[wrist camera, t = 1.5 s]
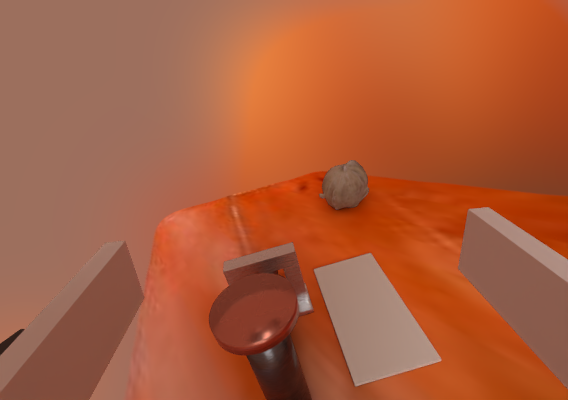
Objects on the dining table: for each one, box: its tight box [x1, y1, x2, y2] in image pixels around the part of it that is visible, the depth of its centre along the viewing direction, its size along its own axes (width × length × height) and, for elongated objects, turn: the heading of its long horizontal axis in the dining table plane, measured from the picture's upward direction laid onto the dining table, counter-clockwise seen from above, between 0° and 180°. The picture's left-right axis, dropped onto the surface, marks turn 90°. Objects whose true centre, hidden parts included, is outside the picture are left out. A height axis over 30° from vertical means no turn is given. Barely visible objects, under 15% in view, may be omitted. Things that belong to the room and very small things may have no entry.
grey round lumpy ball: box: [319, 160, 369, 210], centre depth 59 cm, size 9×8×10 cm
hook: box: [209, 270, 312, 400], centre depth 35 cm, size 7×24×14 cm, turn 10°
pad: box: [314, 253, 441, 387], centre depth 39 cm, size 9×18×1 cm, turn 10°
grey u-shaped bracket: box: [223, 242, 314, 317], centre depth 40 cm, size 9×5×9 cm, turn 100°
